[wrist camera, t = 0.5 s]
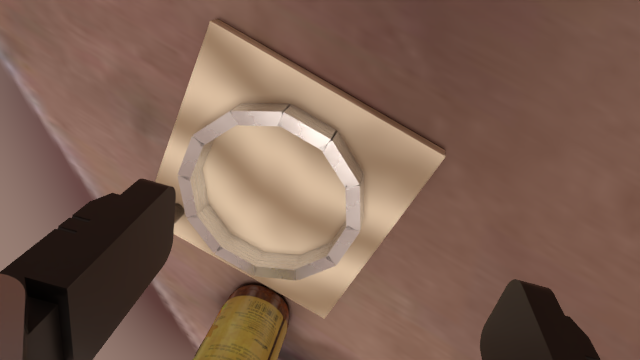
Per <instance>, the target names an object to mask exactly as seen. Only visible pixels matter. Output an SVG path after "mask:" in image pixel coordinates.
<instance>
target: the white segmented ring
mask: <svg viewBox="0 0 640 360" xmlns="http://www.w3.org/2000/svg"><path fill="white" fill-rule="evenodd" d="M236 125H242V126H280V127H282V128H284V129H285V130H287V131H289V132H291V133H292V134H294V135H296V136H298V137H299V138H301V139H303V140H305V141H306V142H308V143H310V144H312V145H313V146H315V147H317V148H319V149H320V150H321V151H322V152H323V154H324V155H325V157H326V158H327V160H328V162H329V163H330V165H331V166H332V168H333V169H334V171H335V172H336V174H337V176H338V177H339V179H340V180H341V182H342V183H343V185H344V187H345V196H346V221H345V222H344V224H343V225H342V227H341V228H340V230H339V231H338V233H337V234H336V236H335V237H334V239H333V240H332V242H330V243H327V244H325V245H323V246H320V247H318V248H316V249H313V250H311V251H308V252H306V253H304V254H301V255H294V254H283V253H272V252H264V251H262V250H260V249H258V248H257V247H255V246H253V245H251V244H249V243H248V242H246V241H244V240H242V239H241V238H239V237H237V236H235V235H234V234H232V233H231V232H230V231H229V229H228V228H227V227H226V225H225V224H224V223H223V222H222V220H221V219H220V218H219V216H218V215H217V214H216V212H215V211H214V210H213V208H212V207H211V206H210V204H209V201H208V195H207V190H206V184H205V179H204V173H203V166H204V164H205V161H206V159H207V156H208V154H209V152H210V149H211V147H212V144H213V142H214V139H215V138H217V137H218V136H220V135H221V134H223V133H225V132H226V131H228V130H229V129H231V128H233V127H234V126H236ZM335 131H336V129H335V128H333V127H331V126H330V125H328V124H326V123H324V122H323V121H321V120H319V119H317V118H316V117H314V116H312V115H310V114H309V113H307V112H305V111H303V110H302V109H300V108H298V107H297V106H295V105H293V104H292V105H291V106H290V103H242V104H239V105H238V106H236V107H235V108H233V109H232V110H230V111H229V112H227V113H225V114H224V115H222V116H221V117H219V118H218V119H216V120H215V121H213V122H211V123H210V124H208V125H207V126H205V127H204V128H202V129H201V130H199V131H198V132H197V133H195V134H194V135H193V136H192V137H191V140H190V142H189V145H188V148H187V150H186V153H185V156H184V158H183V161H182V164H181V166H180V169H179V172H178V174H177V175H178V176H177V177H178V181H179V186H180V191H181V196H182V200H183V205H184V208H183V207H182V206H181V205H180V204H179V203H175V217H174V224H175V223H176V222H177V221H178V220H179V219H180V218H181V217H182V216H183V215H184V210H185V215H186V217H188V218H187V220H188V221H189V222H190V223H191V225H192V226H193V227H194V229H195V230H196V231H197V232H198V234H199V235H200V236H201V238H202V239H203V240H204V242H205V243H206V244H207V245H208V247H209V248H210V249H211V251H212V252H213V253H215V252H216V253H215V255H217V256H219V257H221V258H222V259H224V260H226V261H228V262H230V263H231V264H233V265H235V266H237V267H238V268H240V269H242V270H244V271H246V272H247V273H249V274H251V275H254V276H257V277H267V278H276V279H286V280H295V281H297V279H298V280H301V279H303V278H306V277H308V276H311V275H314V274H316V273H319V272H321V271H324V270H326V269H329V268H331V267H334V266H336V265H337V264H338V263H339V261H340V260H341V258H342V257H343V255H344V254H345V253H346V251H347V250H348V248H349V247H350V245H351V244H352V243H353V241H354V240H355V238H356V237H357V235H358V234H359V233H360V230H361V226H362V222H363V218H364V174H363V171H362V169H361V168H360V166H359V164H358V163H357V161H356V160H355V158H354V156H353V155H352V153H351V151H350V150H349V148H348V147H347V145H346V143H345V142H344V140H343V138H342V137H341V135H340V134H339V132H338V131H336V132H335Z"/></svg>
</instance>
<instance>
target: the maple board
mask: <svg viewBox="0 0 640 360" xmlns="http://www.w3.org/2000/svg"><path fill="white" fill-rule="evenodd" d="M242 103H290V106H291V105H292V104H293V105H295V106H297V107H298V108H300V109H302V110H303V111H305V112H307V113H309V114H310V115H312V116H314V117H316V118H317V119H319V120H321V121H323V122H324V123H326V124H328V125H330V126H331V127H333V128H335V129H336V131H338V132H339V134H340V135H341V137H342V138H343V140H344V142H345V143H346V145H347V147H348V148H349V150H350V151H351V153H352V155H353V156H354V158H355V160H356V161H357V163H358V164H359V166H360V168H361V169H362V171H363V174H364V218H363V222H362V226H361V230H360V233H359V234H358V235H357V237H356V238H355V240H354V241H353V243H352V244H351V245H350V247H349V248H348V250H347V251H346V253H345V254H344V255H343V257H342V258H341V260H340V261H339V263H338V264H337V265H336V266H334V267H331V268H329V269H326V270H324V271H321V272H319V273H316V274H314V275H311V276H308V277H306V278H303V279H301V280H298V279H297V281H295V280H286V279H276V278H267V277H257V276H254V275H251V274H249V273H247V272H246V271H244V270H242V269H240V268H238V267H237V266H235V265H233V264H231V263H230V262H228V261H226V260H224V259H222V258H221V257H219V256H217V255H215V253H216V252H215V253H213V252H212V251H211V249H210V248H209V247H208V245H207V244H206V243H205V242H204V240H203V239H202V238H201V236H200V235H199V234H198V232H197V231H196V230H195V229H194V227H193V226H192V225H191V223H190V222H189V221H188V220H187V218H188V217H186V215H185V210H184V215H183V216H182V217H181V218H180V219H179V220H178V221H177V222H176V223H175V224H174V233H173V234H175V235H177V236H179V237H180V238H182V239H184V240H186V241H187V242H189V243H191V244H193V245H194V246H196V247H198V248H200V249H202V250H203V251H205V252H207V253H209V254H210V255H212V256H214V257H216V258H218V259H219V260H221V261H223V262H225V263H226V264H228V265H230V266H232V267H234V268H235V269H237V270H239V271H241V272H242V273H244V274H246V275H248V276H250V277H251V278H253V279H255V280H257V281H258V282H260V283H262V284H264V285H266V286H267V287H269V288H271V289H273V290H274V291H276V292H278V293H280V294H282V295H283V296H285V297H287V298H289V299H290V300H292V301H294V302H296V303H298V304H299V305H301V306H303V307H305V308H306V309H308V310H310V311H312V312H314V313H315V314H317V315H319V316H321V317H322V318H325V317H326V316H327V314H328V313H329V312H330V310H331V309H332V308H333V306H334V305H335V304H336V302H337V301H338V300H339V298H340V297H341V296H342V294H343V293H344V292H345V290H346V289H347V288H348V286H349V285H350V284H351V282H352V281H353V280H354V278H355V277H356V276H357V274H358V273H359V272H360V270H361V269H362V268H363V266H364V265H365V264H366V262H367V261H368V260H369V258H370V257H371V256H372V254H373V253H374V252H375V250H376V249H377V248H378V246H379V245H380V244H381V242H382V241H383V240H384V238H385V237H386V236H387V234H388V233H389V232H390V230H391V229H392V228H393V226H394V225H395V224H396V222H397V221H398V220H399V218H400V217H401V216H402V214H403V213H404V212H405V210H406V209H407V208H408V206H409V205H410V204H411V202H412V201H413V200H414V198H415V197H416V196H417V194H418V193H419V191H420V190H421V189H422V187H423V186H424V185H425V183H426V182H427V181H428V179H429V178H430V177H431V175H432V174H433V173H434V171H435V170H436V169H437V167H438V166H439V165H440V163H441V162H442V161H443V159H444V158H445V157H446V156H445V150H444V149H442V148H440V147H438V146H437V145H435V144H433V143H432V142H430V141H428V140H426V139H425V138H423V137H421V136H419V135H418V134H416V133H414V132H413V131H411V130H409V129H407V128H406V127H404V126H402V125H400V124H399V123H397V122H395V121H394V120H392V119H390V118H388V117H387V116H385V115H383V114H381V113H380V112H378V111H376V110H374V109H373V108H371V107H369V106H368V105H366V104H364V103H362V102H361V101H359V100H357V99H355V98H354V97H352V96H350V95H349V94H347V93H345V92H343V91H342V90H340V89H338V88H336V87H335V86H333V85H331V84H329V83H328V82H326V81H324V80H323V79H321V78H319V77H317V76H316V75H314V74H312V73H310V72H309V71H307V70H305V69H304V68H302V67H300V66H298V65H297V64H295V63H293V62H291V61H290V60H288V59H286V58H284V57H283V56H281V55H279V54H278V53H276V52H274V51H272V50H271V49H269V48H267V47H265V46H264V45H262V44H260V43H259V42H257V41H255V40H253V39H252V38H250V37H248V36H246V35H245V34H243V33H241V32H239V31H238V30H236V29H234V28H233V27H231V26H229V25H227V24H226V23H224V22H222V21H220V20H219V19H217V20H212V21H210V23H209V26H208V29H207V32H206V35H205V38H204V41H203V44H202V47H201V50H200V52H199V55H198V58H197V61H196V64H195V67H194V70H193V73H192V76H191V79H190V82H189V84H188V87H187V90H186V93H185V96H184V99H183V102H182V105H181V108H180V111H179V114H178V117H177V119H176V122H175V125H174V128H173V131H172V134H171V137H170V140H169V143H168V146H167V149H166V151H165V154H164V157H163V160H162V163H161V166H160V169H159V172H158V175H157V178H156V181H155V182H157V183H161V184H164V185H168V186H172V187H174V189H175V192H176V201H175V203H179V204H180V205H181V206H182V207H183V208H184V205H183V200H182V196H181V191H180V186H179V181H178V177H177V176H178V175H177V174H178V172H179V169H180V166H181V164H182V161H183V158H184V156H185V153H186V150H187V148H188V145H189V142H190V140H191V137H192V136H193V135H194V134H195V133H197V132H198V131H199V130H201V129H202V128H204V127H205V126H207V125H208V124H210V123H211V122H213V121H215V120H216V119H218V118H219V117H221V116H222V115H224V114H225V113H227V112H229V111H230V110H232V109H233V108H235V107H236V106H238V105H239V104H242ZM336 131H335V132H336ZM203 173H204V179H205V184H206V190H207V195H208V201H209V204H210V206H211V207H212V208H213V210H214V211H215V212H216V214H217V215H218V216H219V218H220V219H221V220H222V222H223V223H224V224H225V225H226V227H227V228H228V229H229V231H230V232H231V233H232V234H234V235H235V236H237V237H239V238H241V239H242V240H244V241H246V242H248V243H249V244H251V245H253V246H255V247H257V248H258V249H260V250H262V251H264V252H272V253H283V254H294V255H301V254H304V253H306V252H308V251H311V250H313V249H316V248H318V247H320V246H323V245H325V244H327V243H330V242H332V240H333V239H334V237H335V236H336V234H337V233H338V231H339V230H340V228H341V227H342V225H343V224H344V222H345V221H346V196H345V187H344V185H343V183H342V182H341V180H340V179H339V177H338V176H337V174H336V172H335V171H334V169H333V168H332V166H331V165H330V163H329V162H328V160H327V158H326V157H325V155H324V154H323V152H322V151H321V150H320V149H319V148H317V147H315V146H313V145H312V144H310V143H308V142H306V141H305V140H303V139H301V138H299V137H298V136H296V135H294V134H292V133H291V132H289V131H287V130H285V129H284V128H282V127H280V126H242V125H236V126H234V127H233V128H231V129H229V130H228V131H226V132H225V133H223V134H221V135H220V136H218V137H217V138H215V139H214V142H213V144H212V147H211V149H210V152H209V154H208V156H207V159H206V161H205V164H204V166H203Z"/></svg>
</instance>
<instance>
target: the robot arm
mask: <svg viewBox="0 0 640 360" xmlns="http://www.w3.org/2000/svg"><path fill="white" fill-rule="evenodd" d="M175 201H176V192H175V189H174V187H172V186H168V185H164V184H161V183H157V182H153V181H149V180H146V179H139V180H138V181H136V182H135V183H134V184H133V185H132V186H130V187H129V188H128V189H127V190H126V191H125V192H123V193H122V194H121V195H118V194H115V193H111V194H108V195H106V196H103V197H101V198H98V199H96V200H93V201H90V202H89V203H88V204H86V205H85V206H84V207H82V208H81V209H80V210H79V211H77V212H76V213H75V214H74V215H73V217H72V218H68V219H67V220H66V221H65V222H63V223H62V224H61V225H59V227H58V229H54V230H53V231H52V232H51V233H49V234H48V235H47V236H45V237H44V238H43V239H42V240H40V241H39V242H38V243H37V244H35V245H34V246H33V247H31V248H30V249H29V250H28V251H26V252H25V253H24V254H22V255H21V256H20V257H19V258H17V259H16V260H15V261H14V262H12V263H11V264H10V265H8V266H7V267H6V268H5V269H4V270H2V271H1V272H0V360H93V358H94V357H95V355H96V354H97V353H98V352H99V350H100V349H101V348H102V346H103V345H104V344H105V342H106V341H107V340H108V338H109V337H110V336H111V334H112V333H113V331H114V330H115V329H116V328H117V326H118V325H119V324H120V322H121V321H122V320H123V318H124V317H125V316H126V315H127V313H128V312H129V310H130V309H131V308H132V307H133V305H134V304H135V303H136V301H137V300H138V299H139V297H140V296H141V295H142V293H143V292H144V290H145V289H146V288H147V287H148V285H149V284H150V283H151V281H152V280H153V279H154V277H155V276H156V275H157V273H158V272H159V271H160V269H161V268H162V267H163V265H164V264H165V262H166V260H167V258H168V256H169V254H170V251H171V248H172V243H173V233H174V217H175ZM480 351H481V356H482V360H600V358H599V356H598V354H597V352H596V350H595V348H594V347H593V345H592V343H591V341H590V339H589V337H588V336H587V335H586V334H585V333H584V332H583V331H582V330H581V329H580V328H579V327H578V326H577V324H576V323H575V322H574V321H573V320H572V319H571V318H570V317H568V316H565V315H564V313H563V311H562V309H561V307H560V305H559V303H558V301H557V299H556V297H555V295H554V293H553V292H552V291H551V289H549V288H546V287H542V286H539V285H535V284H531V283H527V282H524V281H520V280H516V279H515V280H512V281H511V282H509V284H508V285H507V286H506V288H505V290H504V292H503V293H502V295H501V297H500V299H499V300H498V302H497V304H496V306H495V308H494V309H493V311H492V313H491V315H490V316H489V318H488V320H487V322H486V323H485V325H484V328H483V330H482V334H481V340H480Z"/></svg>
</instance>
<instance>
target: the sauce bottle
mask: <svg viewBox="0 0 640 360" xmlns="http://www.w3.org/2000/svg"><path fill="white" fill-rule="evenodd" d="M288 321H289V311H288V307H287V304H286V303H285V301H284V300H283V299H282V298H281V297H280V296H279V295H277V294H276V293H275V292H274V291H273V290H271V289H268V288H265V287H263V286H261V285H246V286H243V287H240V288H238V289H237V290H236V291H235V292H234V293H233V294H232V295H231V296H230V297H229V299H228V301H227V302H226V303H225V304H224V305H223V306H222V308H221V310H220V312H219V314H218V316H217V317H216V319H215V321H214V323H213V324H212V326H211V328H210V330H209V332H208V333H207V335H206V337H205V339H204V340H203V342H202V344H201V345H200V347H199V349H198V351H197V352H196V355H195V357H194V359H193V360H277V358H278V355H279V352H280V349H281V346H282V344H283V341H284V338H285V335H286V332H287V327H288Z"/></svg>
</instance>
